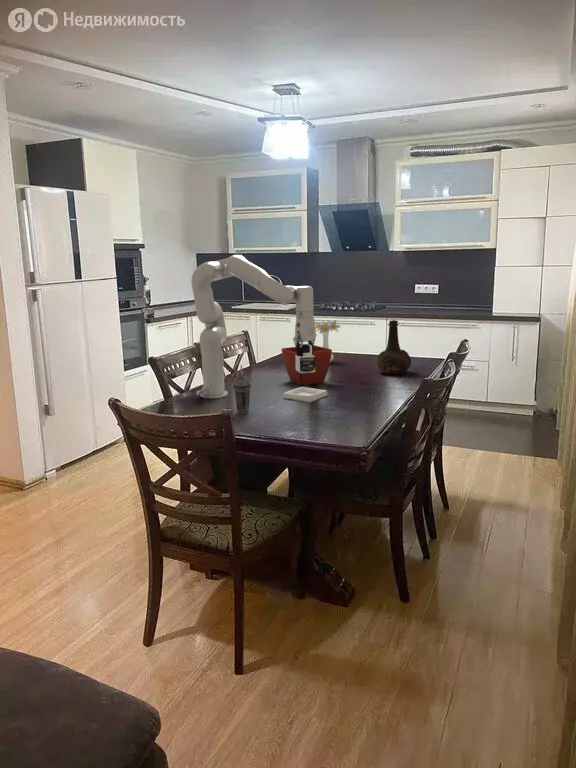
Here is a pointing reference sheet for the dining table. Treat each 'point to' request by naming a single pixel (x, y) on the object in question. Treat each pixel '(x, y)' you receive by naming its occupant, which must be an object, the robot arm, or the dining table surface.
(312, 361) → the medicine bottle
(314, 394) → the tray
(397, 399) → the dining table surface
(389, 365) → the glass bottle
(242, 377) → the beverage cup
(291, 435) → the dining table surface
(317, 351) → the plant pot
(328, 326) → the flower vase
